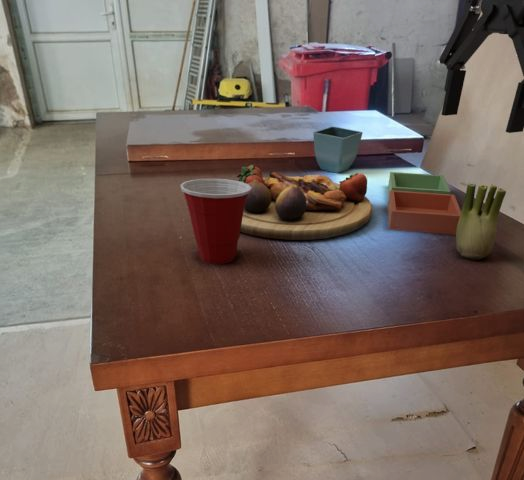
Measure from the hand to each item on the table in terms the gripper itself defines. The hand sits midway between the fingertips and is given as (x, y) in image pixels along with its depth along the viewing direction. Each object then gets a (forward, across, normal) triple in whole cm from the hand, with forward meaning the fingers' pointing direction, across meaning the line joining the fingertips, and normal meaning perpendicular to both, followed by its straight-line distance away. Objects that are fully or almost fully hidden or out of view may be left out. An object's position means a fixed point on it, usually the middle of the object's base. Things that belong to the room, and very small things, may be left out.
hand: (479, 123), depth 82 cm
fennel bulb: (+20, +6, -1) cm, 21 cm away
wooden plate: (+20, -25, -19) cm, 37 cm away
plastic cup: (+20, -11, -40) cm, 46 cm away
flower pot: (+20, -47, +6) cm, 52 cm away
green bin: (+20, -22, +10) cm, 32 cm away
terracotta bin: (+20, -11, +2) cm, 23 cm away
